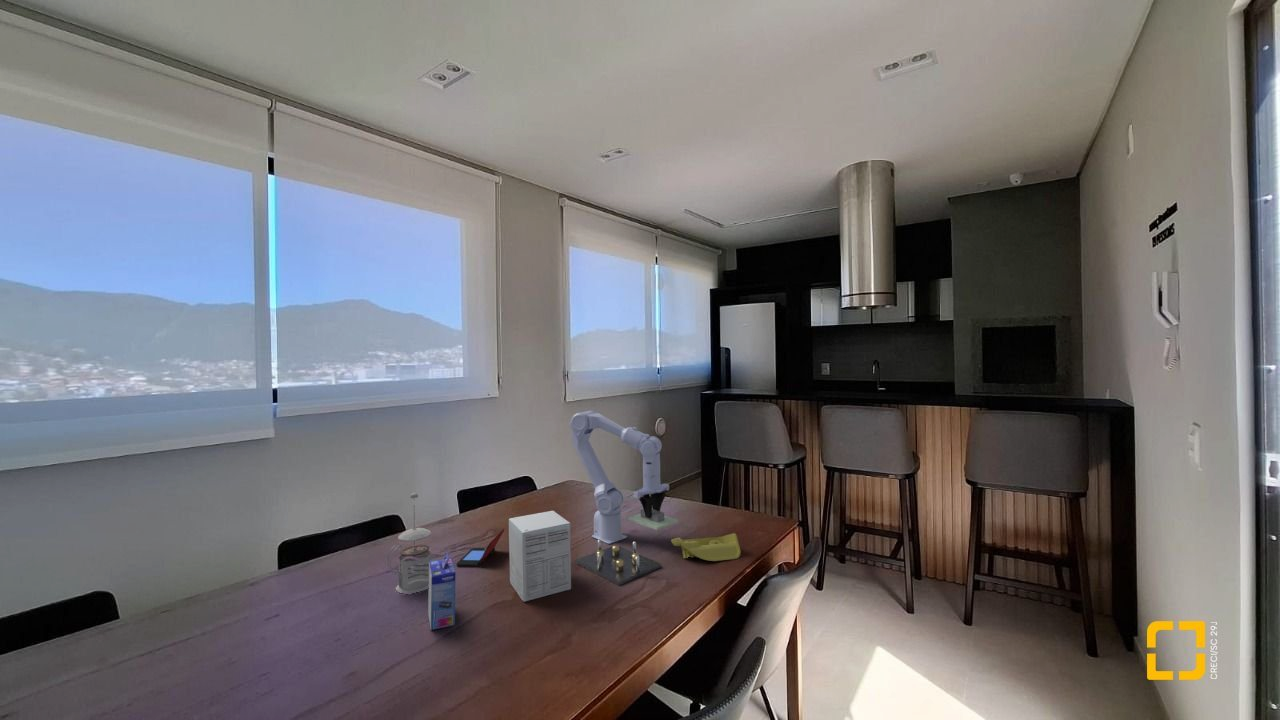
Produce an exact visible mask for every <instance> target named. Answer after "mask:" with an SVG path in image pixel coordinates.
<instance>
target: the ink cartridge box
mask: <svg viewBox="0 0 1280 720" xmlns="http://www.w3.org/2000/svg"><path fill="white" fill-rule="evenodd" d="M456 576H457V575H456V569H455V566H454V562H453V559H452V557H450V554H449V552H447V553H446V554H445V556H444V557H443V558H442V559H436V560H430V562H429V589H428V596H427V597H428V600H427V602H428V603H427V605H428V606H427V607H428V610H427V612H428V613H427V615H428V620H429V628H430V631H433V630H437V629H444V628H448V627H453V626H455V625H456Z"/></svg>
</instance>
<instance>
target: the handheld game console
mask: <svg viewBox="0 0 1280 720" xmlns="http://www.w3.org/2000/svg"><path fill="white" fill-rule="evenodd" d="M504 531H505V529H501V530H500V532H499V533H498V534H496V536H495V537H493V539H492V540H491V541H490V542H489V544H488V545H487V547H472V548H471V549H470V550H468V552H466V554H465V555H464V556H463V557H461V559H459V561H457V562H456V567H458V568H481V567H482V565H483V564H484V563H485V562H486V561H487V557H488V556H489V557H490V556H491V555H493V553H494V552H495V551H496V549H495V547H496V546H497V543H498V542H499V540H500V539H501V537H502V535H503V534H504ZM489 557H488V558H489ZM485 560H486V561H485ZM483 562H484V563H483ZM480 566H481V567H480Z"/></svg>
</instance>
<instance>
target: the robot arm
mask: <svg viewBox="0 0 1280 720" xmlns="http://www.w3.org/2000/svg"><path fill="white" fill-rule="evenodd" d="M571 417H572V418H571V419H570V422H569V425H568V426H569V427H570V431H571V443H572V446H573V447H574V450H575V451H576V454H577V455H578V457H579V459H580V461H581V464H582V465H583V468H584V470H585V471H586V473H587V475H588V477H589V479H590V481H591V483H592V486H593V488H594V495H593V497H594V500H595V502H596V503H595V504H596V508H597V511H595V513H594V516H593V534H592V535H591V537H592V538H594V539H596V540H597V541H598V540H601V542H603V543H605V544H608V545H611V544H613V543H615V542H618V541H621V540H622V541H623V540H624V539H627V535H624V534H622V509H621V506H622V504H623V502H624V495H623V493H622V492H621V490H619V489H618V488H617V486H616V485H615V483H613V482H611V481H610V480H609V478H608V476H607V474H606V472H605V470H604V468H603V466H602V464H601V462H600V460H599V458H598V456H597V454H596V452H595V451H594V448H593V446H592V444H591V442H590V438H591V435H592V433H593V431H594V430H596V429H602V430H603V431H606V432H609V433H611V434H613V435H615V436H617V437H619V438H620V439H621V442H622V443H623V444H626V445H627V446H629V447H631V448H633V449H635V450H637V451H639V452H640V454H641V455H642V487H641V488H639V489H638V490H635V491H633V499H637V500H639V502H640V503H641V505H642V509H644V512H645V516H646V517H647V518H651V516H652V509H654V510H657V511H660V512H661V508H662V504H663V502H664V500H665V498H666V494H667V493H665V491H669V490H670V484H668V483H661V455H660V454H661V453H660V452H661V450H662V447H663V445H662V441H661V440H660V438H658V437H657V436H655V435H654V436H653V435H651V436H650V434H649V433H643V432H641V431H639V430H638V427H636V426H633V427H632V426H629V427H624V426H621V424H618V423H616V421H613V420H611V419H609V418H608V417H606V416H604V415H602V414H601V413H599V412H596V411H595V410H587V411H583V412H577V413H575V414H574V415H572V416H571Z"/></svg>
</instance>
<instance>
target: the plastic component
mask: <svg viewBox="0 0 1280 720" xmlns="http://www.w3.org/2000/svg"><path fill="white" fill-rule="evenodd" d="M670 541H671V544H672V545H673V546H674V547H681V552H682V559H689V558H688V557H691V558H690V559H692V558H695V557H696V558H699V559H700V560H703V561H709V562H719V561H729V560H737V559H739V557H740V556H741V553H742V552H741V551H742V550H741V548H740V546H741V545H740V543H739V539H738V536H737V534H736V533H730V534H726V535H723V536H722V535H721V536H715V537H714V536H713V537H701V538H691V539H690V538H689V539H682V538H681V537H676V538H672V539H671V540H670Z"/></svg>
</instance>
